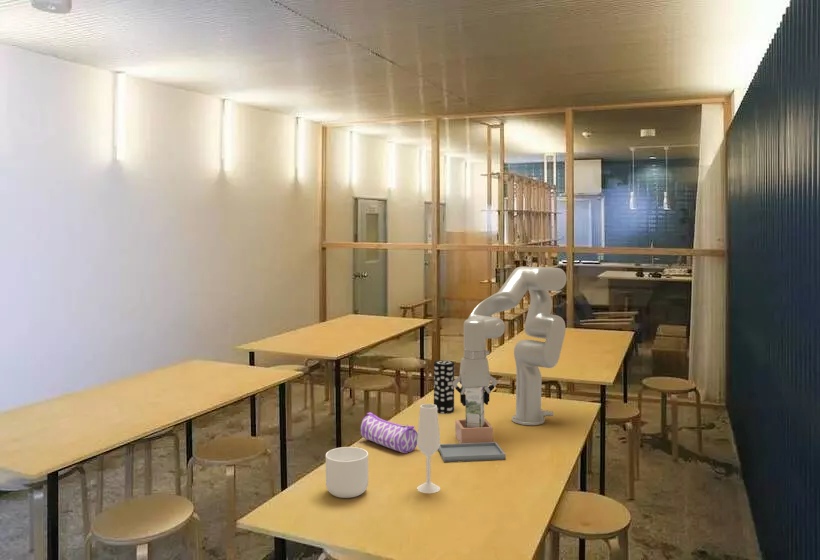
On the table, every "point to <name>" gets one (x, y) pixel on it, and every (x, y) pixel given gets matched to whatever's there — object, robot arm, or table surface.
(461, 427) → the holder
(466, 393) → the syrup box
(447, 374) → the spotted tube
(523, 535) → the table surface
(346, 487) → the handleless ceramic cup
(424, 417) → the champagne flute
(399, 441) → the pencil case
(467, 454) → the tray
